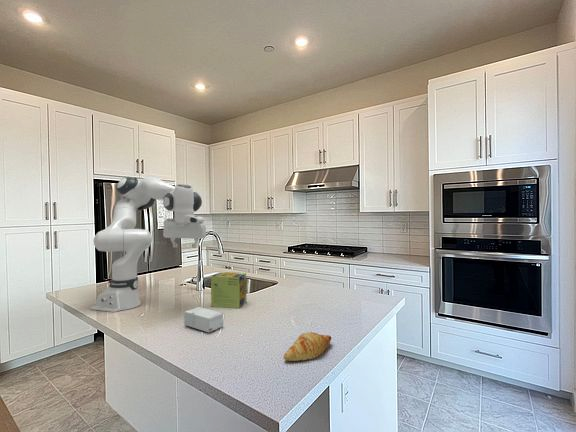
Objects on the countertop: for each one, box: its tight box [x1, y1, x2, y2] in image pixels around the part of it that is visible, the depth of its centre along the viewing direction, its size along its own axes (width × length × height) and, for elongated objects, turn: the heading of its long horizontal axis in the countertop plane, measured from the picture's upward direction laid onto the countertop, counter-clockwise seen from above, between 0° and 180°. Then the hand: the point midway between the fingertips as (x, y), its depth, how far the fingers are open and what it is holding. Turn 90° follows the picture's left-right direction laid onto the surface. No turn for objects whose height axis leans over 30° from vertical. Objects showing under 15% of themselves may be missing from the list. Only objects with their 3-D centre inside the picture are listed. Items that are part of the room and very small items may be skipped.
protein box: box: [210, 271, 247, 309], centre depth 154 cm, size 10×15×16 cm
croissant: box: [283, 331, 332, 362], centre depth 102 cm, size 21×10×8 cm, turn 130°
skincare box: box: [183, 306, 224, 333], centre depth 125 cm, size 8×6×15 cm
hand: (184, 247), depth 144 cm, fingers open, 8 cm apart
